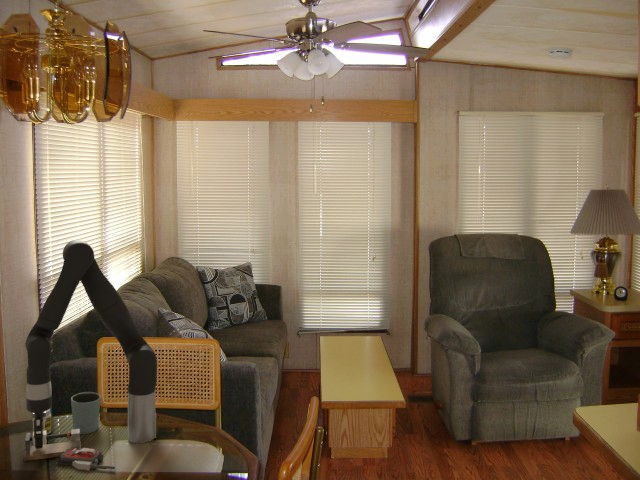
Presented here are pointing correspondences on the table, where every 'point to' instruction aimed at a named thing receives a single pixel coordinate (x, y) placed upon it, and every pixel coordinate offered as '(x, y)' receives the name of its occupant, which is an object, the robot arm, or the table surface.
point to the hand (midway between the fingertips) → (39, 442)
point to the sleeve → (43, 437)
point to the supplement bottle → (48, 422)
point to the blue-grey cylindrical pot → (85, 411)
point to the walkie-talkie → (83, 459)
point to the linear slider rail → (51, 446)
